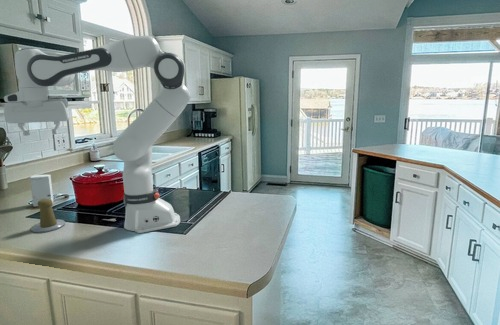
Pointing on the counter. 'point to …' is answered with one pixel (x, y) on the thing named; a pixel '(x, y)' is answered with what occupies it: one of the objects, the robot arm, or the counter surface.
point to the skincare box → (41, 188)
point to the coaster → (38, 229)
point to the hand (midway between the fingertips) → (41, 134)
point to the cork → (46, 213)
